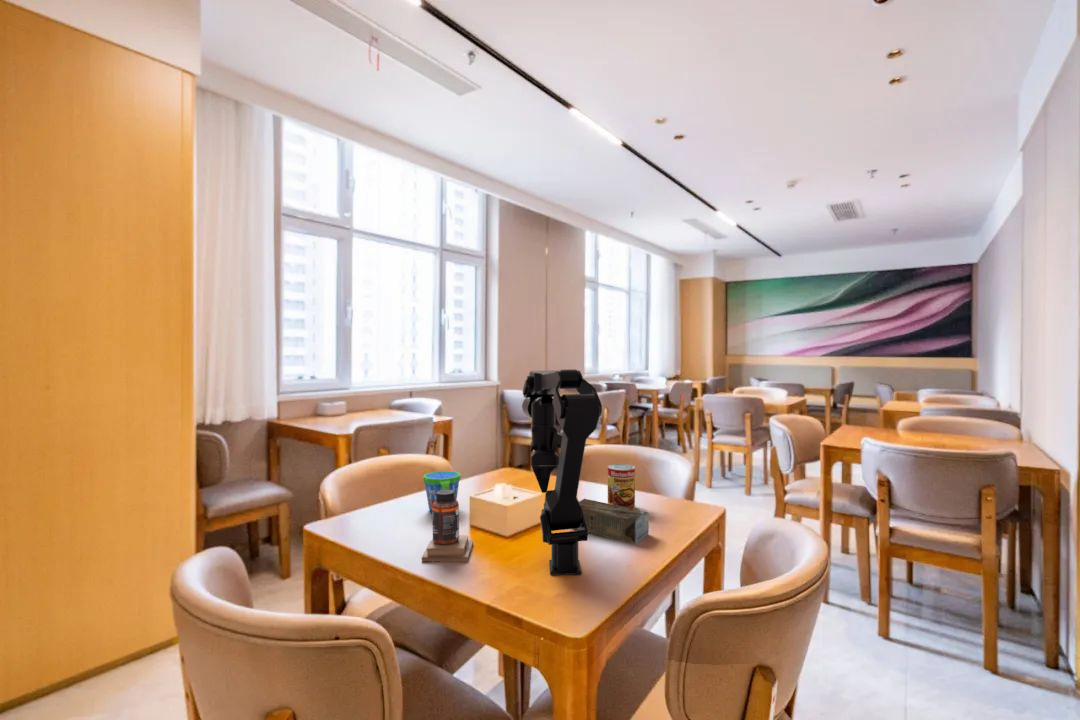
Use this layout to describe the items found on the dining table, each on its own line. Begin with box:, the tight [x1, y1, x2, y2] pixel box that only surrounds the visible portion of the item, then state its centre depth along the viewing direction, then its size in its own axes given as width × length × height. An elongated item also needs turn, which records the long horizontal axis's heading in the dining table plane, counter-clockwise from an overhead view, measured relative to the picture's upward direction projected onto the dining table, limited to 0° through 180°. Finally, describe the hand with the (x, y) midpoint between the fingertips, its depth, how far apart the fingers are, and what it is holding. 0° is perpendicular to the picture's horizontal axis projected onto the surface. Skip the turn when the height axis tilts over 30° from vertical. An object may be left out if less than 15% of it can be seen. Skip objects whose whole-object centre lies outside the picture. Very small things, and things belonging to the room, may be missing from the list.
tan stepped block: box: [421, 534, 474, 563], centre depth 118 cm, size 10×10×2 cm
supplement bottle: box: [431, 490, 460, 545], centre depth 119 cm, size 6×6×11 cm
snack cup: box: [422, 470, 461, 512], centre depth 150 cm, size 16×10×10 cm
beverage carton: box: [575, 498, 650, 544], centre depth 132 cm, size 8×19×7 cm, turn 54°
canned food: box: [607, 463, 636, 510], centre depth 152 cm, size 8×8×12 cm
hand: (543, 487), depth 125 cm, fingers open, 9 cm apart
